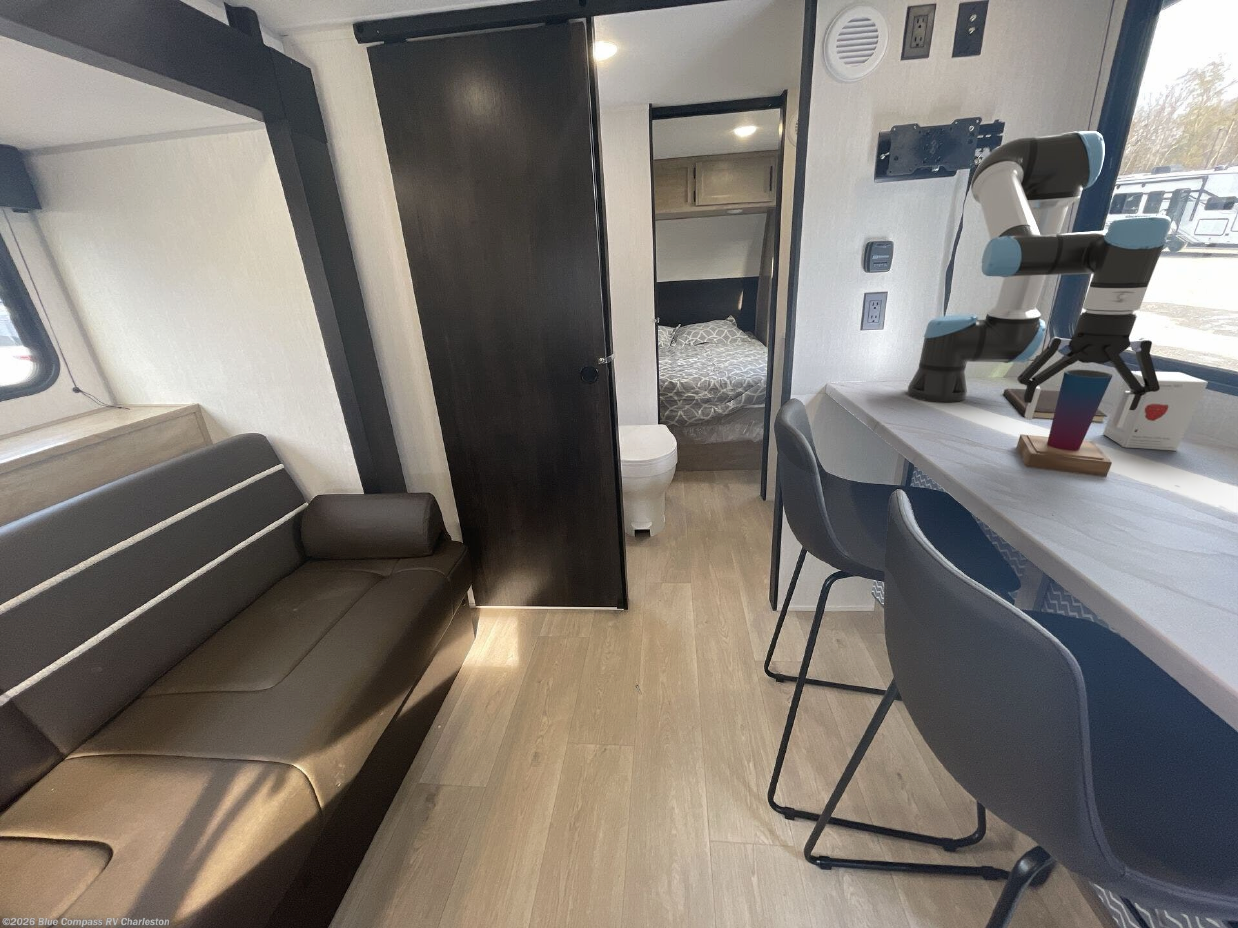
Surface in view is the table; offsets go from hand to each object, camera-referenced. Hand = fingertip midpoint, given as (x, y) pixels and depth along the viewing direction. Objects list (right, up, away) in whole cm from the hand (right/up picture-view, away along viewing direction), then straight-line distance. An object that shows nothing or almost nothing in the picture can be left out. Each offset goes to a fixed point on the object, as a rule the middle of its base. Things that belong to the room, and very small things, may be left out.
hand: (1070, 421), depth 95 cm
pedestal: (0, -8, +3) cm, 8 cm away
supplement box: (+24, -4, +10) cm, 26 cm away
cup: (0, -5, +2) cm, 5 cm away
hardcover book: (+27, +6, +35) cm, 44 cm away
